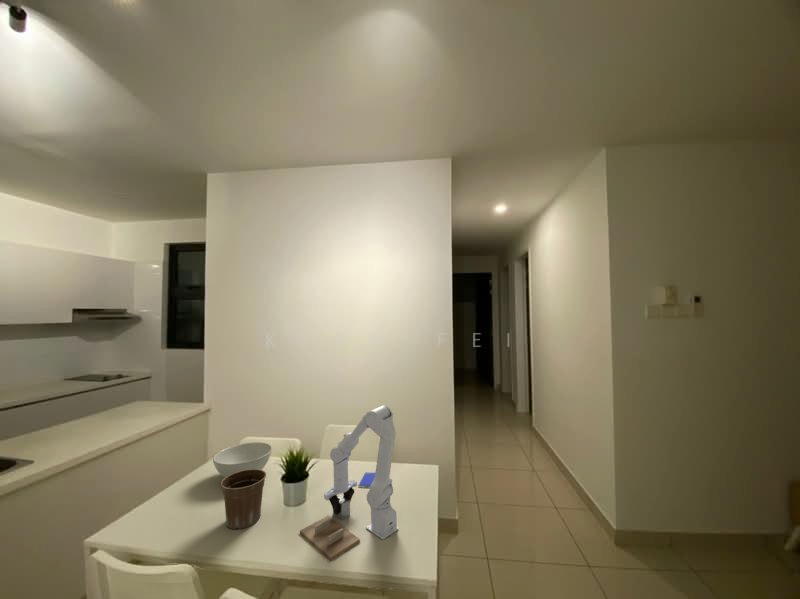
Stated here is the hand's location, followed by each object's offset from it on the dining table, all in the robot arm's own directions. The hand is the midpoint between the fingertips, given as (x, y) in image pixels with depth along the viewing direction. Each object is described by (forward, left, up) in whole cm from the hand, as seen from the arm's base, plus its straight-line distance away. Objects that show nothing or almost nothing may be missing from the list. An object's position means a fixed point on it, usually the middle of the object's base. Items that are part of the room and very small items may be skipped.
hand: (341, 510), depth 131 cm
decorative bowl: (+63, +15, -2) cm, 65 cm away
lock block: (0, 0, -2) cm, 2 cm away
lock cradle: (-8, +11, -1) cm, 14 cm away
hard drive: (+12, -25, -2) cm, 28 cm away
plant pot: (+26, +28, -2) cm, 38 cm away
